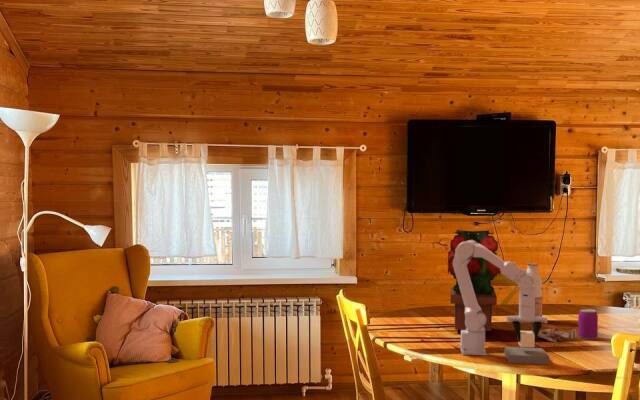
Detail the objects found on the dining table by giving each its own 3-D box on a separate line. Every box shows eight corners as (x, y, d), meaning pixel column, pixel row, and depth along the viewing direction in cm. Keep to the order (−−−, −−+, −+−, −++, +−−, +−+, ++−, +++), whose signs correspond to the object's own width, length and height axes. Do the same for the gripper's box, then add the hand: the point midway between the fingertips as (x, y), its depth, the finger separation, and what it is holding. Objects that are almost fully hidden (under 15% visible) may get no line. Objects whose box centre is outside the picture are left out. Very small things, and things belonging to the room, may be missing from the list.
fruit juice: (518, 320, 311) (518, 263, 311) (527, 317, 318) (528, 261, 317) (536, 323, 304) (536, 264, 304) (545, 320, 311) (546, 263, 310)
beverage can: (586, 340, 271) (586, 312, 271) (574, 336, 279) (574, 308, 279) (601, 339, 274) (601, 311, 273) (589, 335, 281) (589, 308, 281)
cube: (520, 346, 240) (520, 333, 240) (518, 343, 245) (518, 330, 245) (534, 347, 239) (534, 334, 239) (531, 344, 244) (531, 331, 244)
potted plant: (499, 337, 276) (500, 233, 275) (447, 335, 281) (448, 232, 279) (496, 326, 298) (497, 229, 297) (447, 324, 302) (448, 229, 301)
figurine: (570, 330, 262) (525, 327, 276) (572, 344, 262) (526, 341, 276) (577, 328, 266) (531, 325, 280) (578, 342, 266) (533, 339, 280)
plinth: (509, 363, 237) (509, 355, 237) (504, 354, 249) (504, 346, 248) (549, 364, 235) (549, 356, 235) (542, 355, 247) (542, 348, 247)
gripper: (544, 304, 244) (544, 339, 245) (505, 303, 246) (505, 338, 246) (548, 307, 237) (548, 344, 238) (508, 306, 239) (508, 342, 239)
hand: (526, 341), depth 242 cm, fingers closed on cube, 5 cm apart
